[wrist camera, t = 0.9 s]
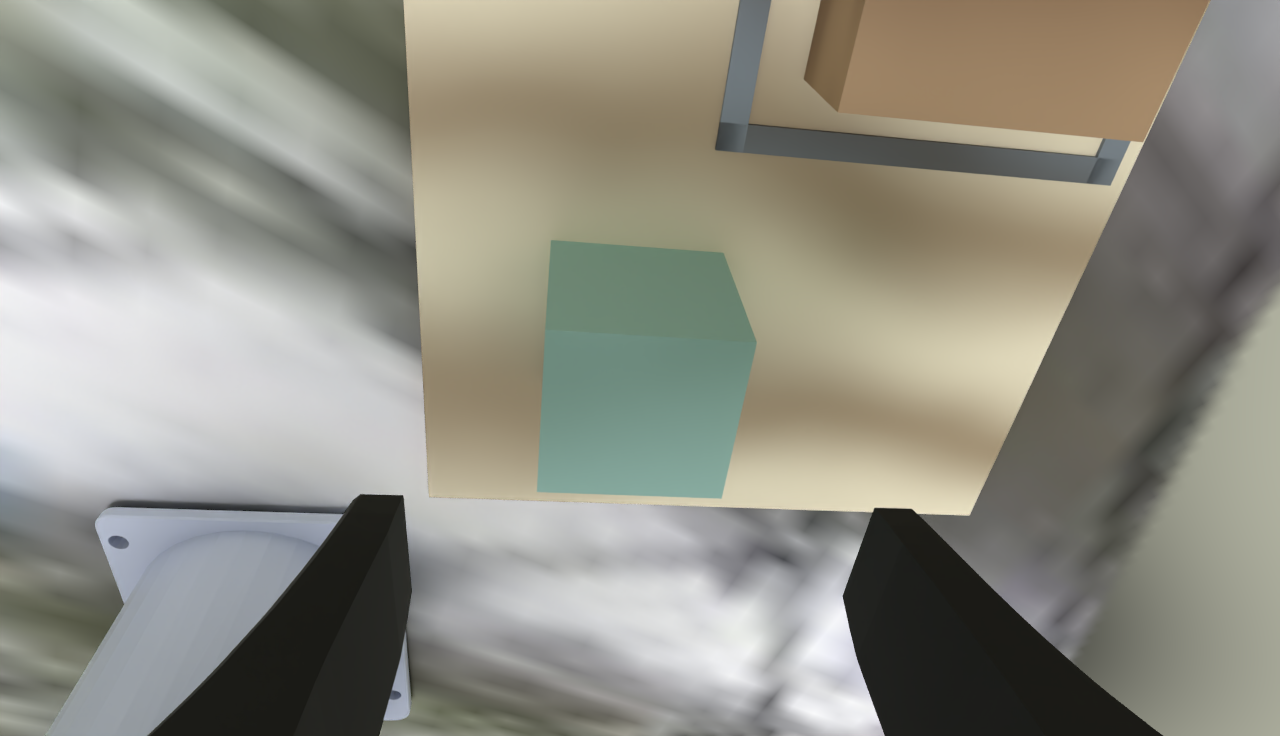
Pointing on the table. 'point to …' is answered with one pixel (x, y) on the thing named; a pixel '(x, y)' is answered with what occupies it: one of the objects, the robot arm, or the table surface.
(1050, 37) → the walnut slab
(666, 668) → the table surface
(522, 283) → the build board
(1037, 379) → the table surface
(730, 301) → the teal block
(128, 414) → the table surface
